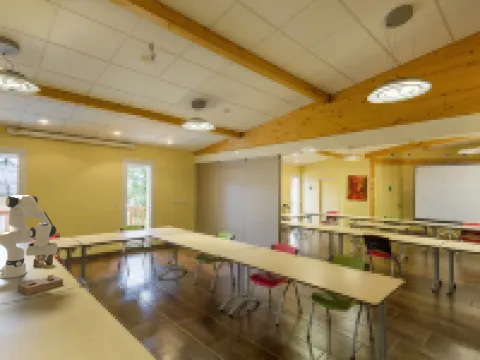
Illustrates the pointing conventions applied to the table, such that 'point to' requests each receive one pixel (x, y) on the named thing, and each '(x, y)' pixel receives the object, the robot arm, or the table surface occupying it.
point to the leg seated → (50, 277)
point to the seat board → (39, 285)
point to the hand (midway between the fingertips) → (41, 260)
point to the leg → (41, 260)
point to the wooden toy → (48, 261)
